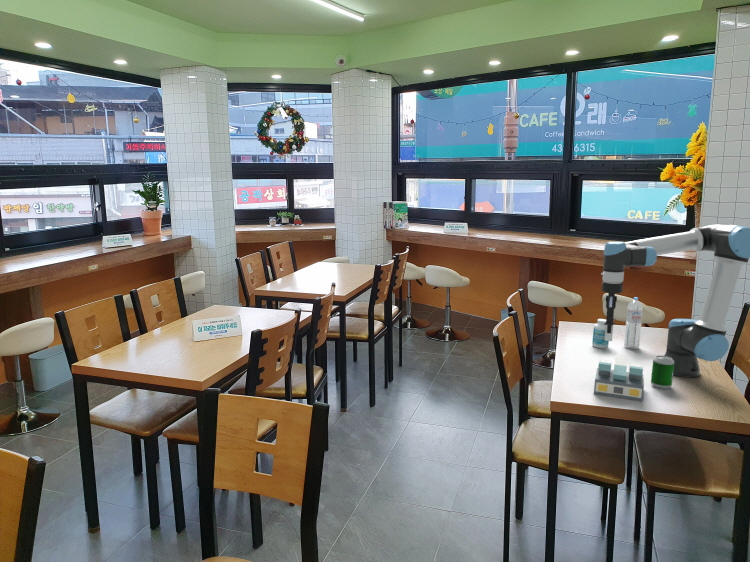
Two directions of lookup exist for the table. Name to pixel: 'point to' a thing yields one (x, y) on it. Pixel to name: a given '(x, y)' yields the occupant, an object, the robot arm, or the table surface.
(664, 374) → the soda can
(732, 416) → the table surface
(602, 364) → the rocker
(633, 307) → the water bottle
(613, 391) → the switch unit
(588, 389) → the table surface
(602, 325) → the pill bottle
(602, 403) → the table surface
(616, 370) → the rocker
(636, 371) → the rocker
